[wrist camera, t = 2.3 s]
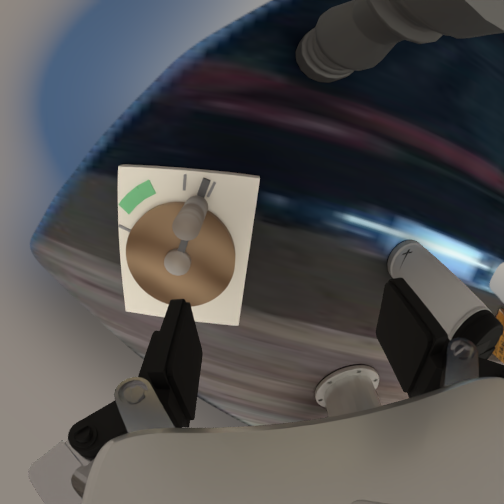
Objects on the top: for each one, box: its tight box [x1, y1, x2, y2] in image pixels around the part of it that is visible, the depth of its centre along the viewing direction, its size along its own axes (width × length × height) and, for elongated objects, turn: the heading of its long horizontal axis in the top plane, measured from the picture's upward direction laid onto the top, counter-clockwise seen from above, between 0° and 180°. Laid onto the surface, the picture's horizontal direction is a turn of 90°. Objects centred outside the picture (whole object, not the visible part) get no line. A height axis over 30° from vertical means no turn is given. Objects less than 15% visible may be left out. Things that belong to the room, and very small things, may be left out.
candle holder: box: [296, 0, 504, 83], centre depth 15 cm, size 6×6×25 cm
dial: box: [126, 178, 235, 307], centre depth 30 cm, size 16×13×8 cm
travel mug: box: [387, 240, 504, 360], centre depth 28 cm, size 6×7×20 cm
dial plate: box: [118, 164, 260, 326], centre depth 35 cm, size 20×16×2 cm
